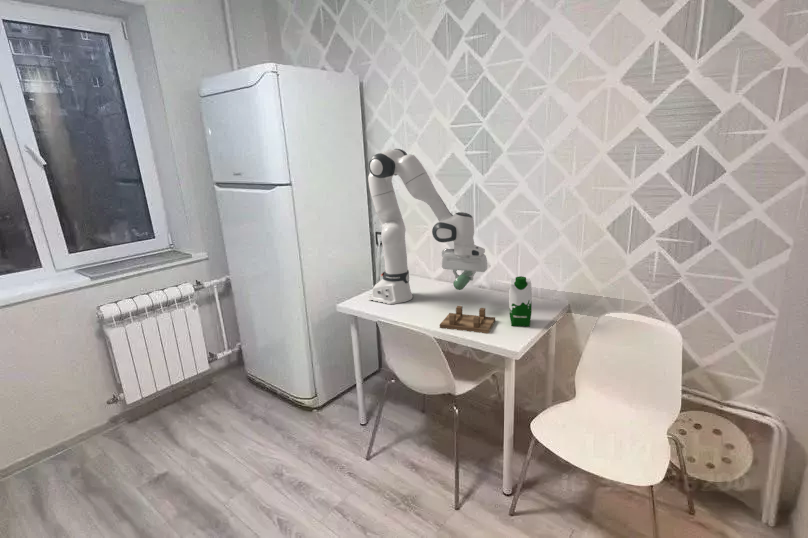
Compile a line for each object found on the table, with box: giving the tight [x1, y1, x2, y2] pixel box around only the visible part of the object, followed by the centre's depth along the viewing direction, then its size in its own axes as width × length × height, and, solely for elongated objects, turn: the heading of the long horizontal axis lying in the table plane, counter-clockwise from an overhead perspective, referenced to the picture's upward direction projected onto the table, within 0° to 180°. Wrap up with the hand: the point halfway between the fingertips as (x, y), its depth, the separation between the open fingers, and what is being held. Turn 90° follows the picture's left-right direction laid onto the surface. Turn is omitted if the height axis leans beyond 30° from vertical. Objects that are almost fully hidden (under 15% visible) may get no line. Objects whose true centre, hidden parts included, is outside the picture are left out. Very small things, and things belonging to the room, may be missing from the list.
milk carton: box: [508, 275, 533, 328], centre depth 168 cm, size 9×9×20 cm
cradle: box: [439, 305, 496, 334], centre depth 172 cm, size 13×20×6 cm, turn 66°
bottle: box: [453, 271, 473, 291], centre depth 188 cm, size 19×5×5 cm
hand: (464, 279), depth 187 cm, fingers closed on bottle, 5 cm apart
